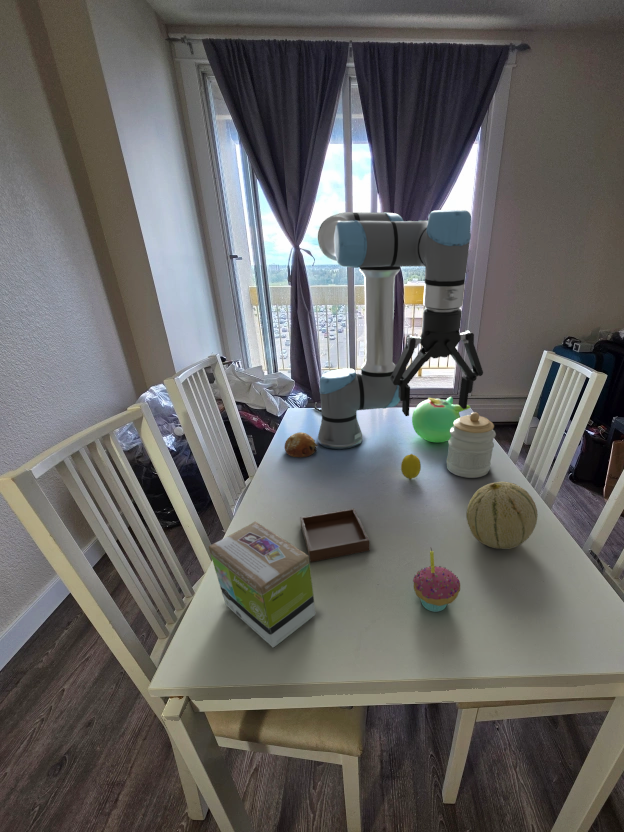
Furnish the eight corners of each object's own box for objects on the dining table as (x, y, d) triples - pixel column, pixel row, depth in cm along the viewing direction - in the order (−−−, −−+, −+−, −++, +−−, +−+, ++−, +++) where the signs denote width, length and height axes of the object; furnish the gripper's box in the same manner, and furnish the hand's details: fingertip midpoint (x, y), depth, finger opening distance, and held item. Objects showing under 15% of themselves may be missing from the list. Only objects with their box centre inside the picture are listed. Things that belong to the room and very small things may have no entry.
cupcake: (402, 601, 77) (405, 552, 71) (431, 580, 82) (435, 532, 76) (439, 627, 72) (445, 577, 65) (466, 602, 77) (475, 553, 70)
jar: (498, 473, 120) (509, 416, 111) (462, 482, 116) (470, 424, 106) (471, 455, 130) (479, 402, 121) (437, 463, 126) (442, 408, 116)
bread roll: (305, 453, 140) (295, 431, 138) (325, 447, 134) (315, 424, 132) (285, 464, 133) (274, 442, 131) (306, 459, 127) (295, 435, 124)
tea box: (223, 606, 76) (205, 544, 68) (267, 578, 82) (256, 518, 75) (273, 651, 68) (259, 585, 60) (317, 615, 74) (311, 552, 66)
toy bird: (404, 432, 147) (406, 391, 139) (447, 427, 151) (451, 388, 143) (422, 452, 132) (425, 409, 125) (469, 446, 136) (475, 404, 128)
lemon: (418, 484, 115) (420, 459, 110) (399, 482, 116) (400, 457, 111) (420, 475, 119) (422, 450, 115) (402, 473, 120) (403, 449, 116)
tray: (301, 527, 97) (300, 517, 96) (354, 518, 101) (354, 508, 99) (310, 562, 87) (309, 551, 85) (369, 550, 90) (369, 539, 88)
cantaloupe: (541, 559, 87) (558, 500, 79) (476, 566, 86) (486, 506, 78) (512, 520, 100) (524, 465, 92) (454, 525, 98) (461, 470, 90)
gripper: (385, 317, 73) (385, 423, 86) (510, 307, 78) (492, 410, 91) (375, 308, 79) (376, 409, 92) (492, 299, 84) (478, 397, 97)
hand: (434, 410), depth 92 cm, fingers open, 13 cm apart
